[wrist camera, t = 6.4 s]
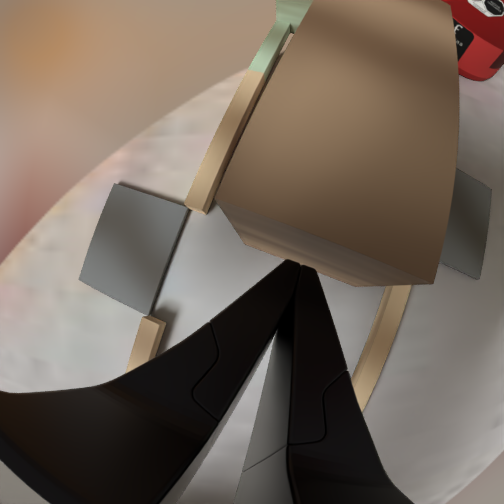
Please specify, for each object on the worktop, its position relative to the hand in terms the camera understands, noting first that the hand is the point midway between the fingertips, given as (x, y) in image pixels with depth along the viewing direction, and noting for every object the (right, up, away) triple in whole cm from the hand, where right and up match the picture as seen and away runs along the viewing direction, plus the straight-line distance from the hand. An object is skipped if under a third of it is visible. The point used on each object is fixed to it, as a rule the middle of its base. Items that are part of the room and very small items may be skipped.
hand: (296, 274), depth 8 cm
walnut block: (+4, +6, +7) cm, 10 cm away
